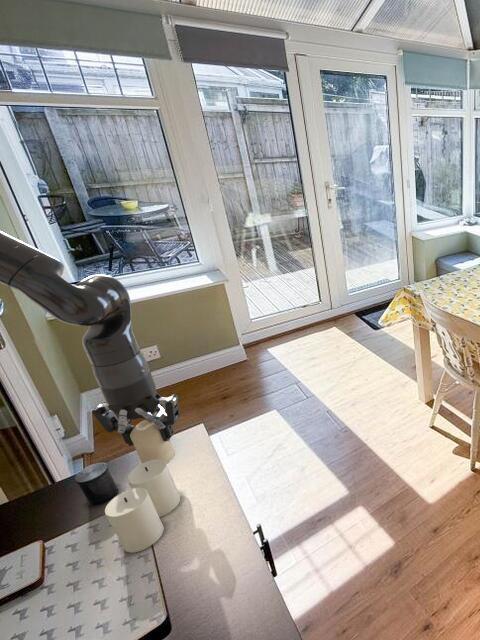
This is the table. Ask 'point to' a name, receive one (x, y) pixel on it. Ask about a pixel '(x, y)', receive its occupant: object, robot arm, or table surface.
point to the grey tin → (97, 483)
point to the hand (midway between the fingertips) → (151, 440)
